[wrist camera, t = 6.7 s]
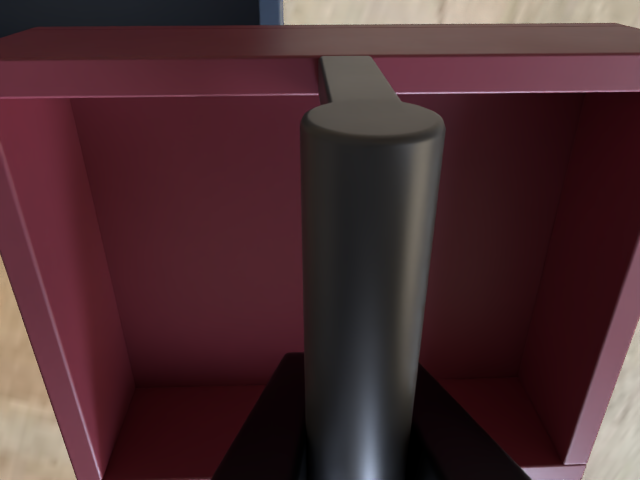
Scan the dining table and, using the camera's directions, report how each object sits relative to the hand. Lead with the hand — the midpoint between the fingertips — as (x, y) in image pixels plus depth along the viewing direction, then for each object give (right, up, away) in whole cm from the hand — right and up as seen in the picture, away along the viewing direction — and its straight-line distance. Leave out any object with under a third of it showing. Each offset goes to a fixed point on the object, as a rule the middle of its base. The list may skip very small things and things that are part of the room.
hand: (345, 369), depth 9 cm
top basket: (0, +2, +4) cm, 5 cm away
